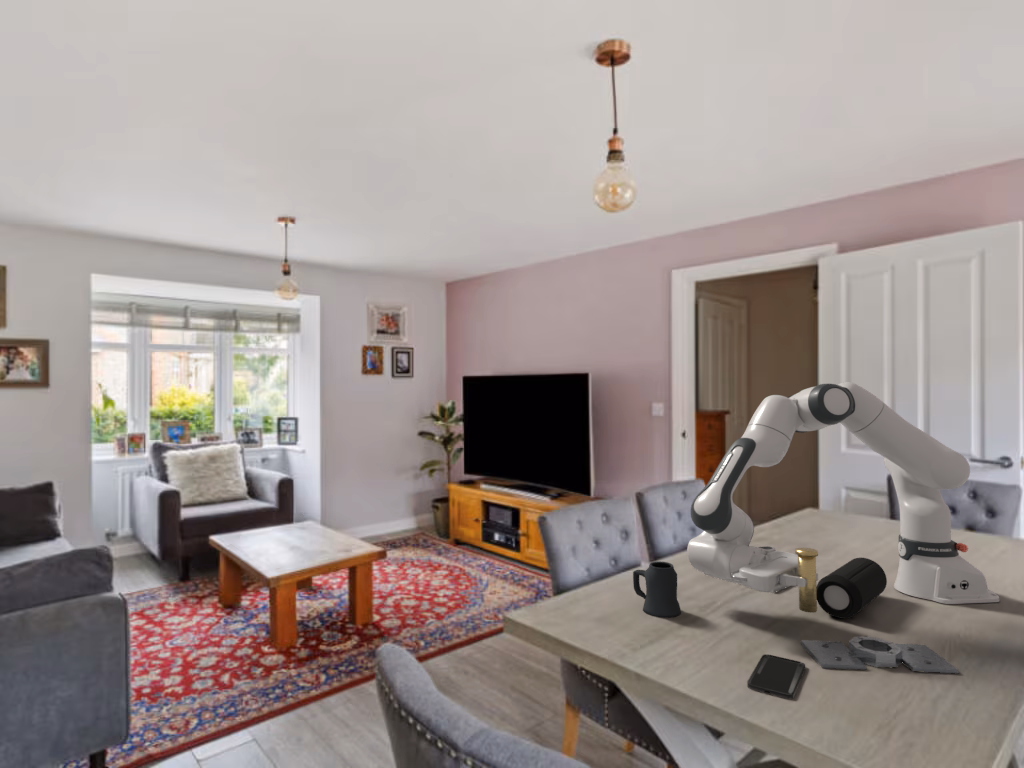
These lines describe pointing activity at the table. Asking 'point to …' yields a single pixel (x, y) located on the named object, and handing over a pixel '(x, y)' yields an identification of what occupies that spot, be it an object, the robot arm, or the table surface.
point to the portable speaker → (851, 587)
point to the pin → (809, 571)
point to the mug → (659, 590)
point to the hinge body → (876, 655)
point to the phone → (776, 676)
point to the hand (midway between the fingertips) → (811, 580)
